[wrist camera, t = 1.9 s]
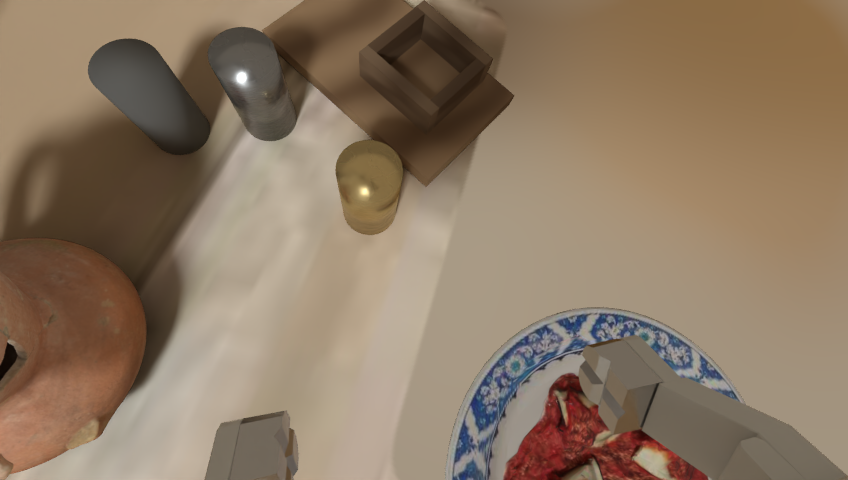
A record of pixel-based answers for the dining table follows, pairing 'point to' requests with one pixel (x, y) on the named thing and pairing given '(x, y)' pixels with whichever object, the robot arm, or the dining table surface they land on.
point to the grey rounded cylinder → (149, 95)
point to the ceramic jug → (62, 347)
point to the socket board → (395, 75)
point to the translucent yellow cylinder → (369, 185)
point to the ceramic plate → (567, 406)
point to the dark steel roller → (253, 81)
